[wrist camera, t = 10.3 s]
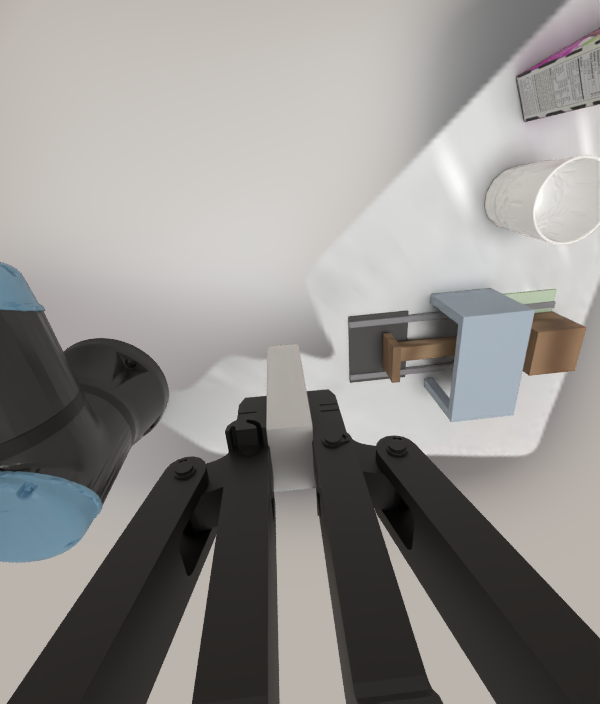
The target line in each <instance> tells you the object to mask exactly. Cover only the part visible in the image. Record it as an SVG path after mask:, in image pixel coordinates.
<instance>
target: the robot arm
mask: <svg viewBox="0 0 600 704" xmlns="http://www.w3.org/2000/svg"><path fill="white" fill-rule="evenodd" d="M44 311H45V309H44V307H43V306H42V305H40V304H39V303H38V301H37V300H36V298H35V296H34V295H33V293H32V291H31V289H30V287H29V286H28V284H27V282H26V280H25V279H24V277H23V275H22V274H21V273H20V272H19V271H18V270H17V269H15V268H14V267H12V266H10V265H8V264H5V263H2V262H0V561H2V562H31V561H39V560H44V559H48V558H51V557H54V556H57V555H59V554H61V553H64V552H66V551H67V550H69V549H70V548H72V547H73V546H74V545H76V544H77V543H78V542H79V541H80V540H81V538H82V537H83V536H84V535H85V533H86V531H87V530H88V528H89V526H90V525H91V523H92V521H93V520H94V518H96V516H97V515H98V514H99V513H100V512H101V509H102V505H103V503H104V501H105V499H106V497H107V495H108V493H109V491H110V489H111V487H112V485H113V483H114V481H115V479H116V477H117V475H118V473H119V471H120V469H121V467H122V465H123V463H124V460H125V459H126V457H127V454H128V452H129V450H130V448H131V447H132V445H134V444H135V443H136V442H137V441H139V440H140V439H141V438H142V437H143V436H144V435H146V434H147V433H149V432H150V431H151V430H152V429H153V428H154V427H155V426H156V425H157V424H158V422H159V421H160V419H161V417H162V415H163V413H164V411H165V408H166V406H167V403H168V397H169V391H168V385H167V381H166V378H165V376H164V374H163V372H162V370H161V369H160V367H159V366H158V365H157V363H156V362H155V361H154V360H153V359H152V358H150V356H149V355H147V354H146V353H145V352H143V351H142V350H140V349H138V348H136V347H135V346H133V345H131V344H128V343H125V342H122V341H118V340H114V339H106V338H96V339H88V340H84V341H81V342H78V343H76V344H74V345H72V346H70V347H69V348H67V349H66V350H65V351H64V352H63V350H62V348H61V346H60V345H59V342H58V340H57V338H56V336H55V334H54V332H53V330H52V328H51V326H50V324H49V322H48V320H47V318H46V316H45V314H44ZM267 349H268V350H267V351H268V352H267V396H261V397H250V398H245V399H244V400H243V401H242V402H241V404H240V405H239V410H238V417H237V420H236V421H234V422H232V423H231V424H230V425H228V426H227V428H226V430H225V434H226V439H227V445H228V450H229V453H228V454H227V455H226V456H224V457H222V458H221V459H218V460H216V461H213V462H210V463H207V464H205V462H204V461H203V460H202V459H201V458H198V457H185V458H182V459H179V460H177V461H175V462H173V463H172V464H170V465H169V467H167V469H166V470H165V471H164V473H163V474H162V476H161V477H160V479H159V480H158V481H157V483H156V484H155V486H154V487H153V489H152V490H151V492H150V493H149V495H148V496H147V498H146V499H145V501H144V502H143V504H142V505H141V507H140V508H139V509H138V511H137V512H136V514H135V516H134V517H133V518H132V520H131V521H130V523H129V524H128V526H127V528H126V529H125V530H124V532H123V533H122V535H121V536H120V537H119V539H118V540H117V542H116V543H115V545H114V547H113V548H112V549H111V551H110V552H109V554H108V555H107V557H106V558H105V560H104V561H103V563H102V564H101V566H100V567H99V568H98V570H97V571H96V573H95V574H94V576H93V577H92V579H91V580H90V582H89V583H88V585H87V586H86V588H85V589H84V591H83V592H82V594H81V595H80V596H79V598H78V599H77V601H76V602H75V604H74V605H73V607H72V608H71V610H70V611H69V613H68V614H67V616H66V617H65V619H64V620H63V622H62V623H61V624H60V626H59V627H58V629H57V630H56V632H55V633H54V635H53V636H52V638H51V639H50V641H49V642H48V644H47V645H46V647H45V648H44V650H43V651H42V653H41V654H40V655H39V657H38V658H37V660H36V661H35V663H34V664H33V666H32V667H31V669H30V670H29V672H28V673H27V675H26V676H25V678H24V679H23V681H22V682H21V683H20V685H19V686H18V688H17V689H16V691H15V692H14V694H13V695H12V697H11V698H10V700H9V701H8V703H7V704H146V702H147V700H148V698H149V695H150V693H151V690H152V688H153V686H154V683H155V681H156V678H157V676H158V674H159V671H160V669H161V666H162V664H163V661H164V659H165V657H166V654H167V652H168V649H169V647H170V645H171V642H172V640H173V637H174V635H175V633H176V630H177V628H178V626H179V623H180V621H181V618H182V616H183V614H184V611H185V609H186V606H187V604H188V602H189V599H190V597H191V594H192V592H193V589H194V587H195V585H196V582H197V580H198V577H199V575H200V573H201V570H202V568H203V565H204V563H205V561H206V558H207V556H208V553H209V551H210V549H211V546H212V544H213V541H214V539H215V537H216V542H215V549H214V556H213V563H212V570H211V576H210V583H209V591H208V597H207V604H206V611H205V618H204V624H203V631H202V638H201V645H200V652H199V658H198V665H197V672H196V679H195V686H194V693H193V700H192V704H279V659H278V615H277V564H276V522H275V521H276V520H275V519H276V518H275V499H274V492H280V491H288V490H299V489H309V488H316V492H317V510H318V515H319V518H320V525H321V532H322V539H323V546H324V553H325V559H326V567H327V573H328V581H329V588H330V595H331V601H332V608H333V615H334V622H335V629H336V636H337V643H338V649H339V657H340V664H341V671H342V678H343V685H344V692H345V699H346V704H443V702H442V701H441V698H440V697H439V695H438V694H437V693H436V692H435V691H434V690H433V689H432V687H431V685H430V683H429V681H428V678H427V675H426V672H425V669H424V666H423V662H422V659H421V656H420V653H419V650H418V647H417V643H416V641H415V637H414V634H413V631H412V627H411V624H410V621H409V618H408V615H407V611H406V608H405V605H404V602H403V599H402V596H401V592H400V589H399V586H398V583H397V580H396V577H395V573H394V570H393V567H392V564H391V561H390V558H389V554H388V551H387V548H386V545H385V541H384V538H383V536H382V532H381V529H380V526H379V523H378V519H377V516H376V513H377V515H378V517H379V518H380V519H381V521H382V523H383V524H384V526H385V528H386V529H387V531H388V532H389V534H390V536H391V537H392V539H393V540H394V542H395V544H396V545H397V546H398V548H399V550H400V551H401V553H402V555H403V556H404V558H405V559H406V561H407V563H408V564H409V566H410V567H411V569H412V570H413V572H414V574H415V575H416V577H417V578H418V580H419V582H420V583H421V585H422V586H423V588H424V589H425V591H426V593H427V594H428V596H429V597H430V599H431V600H432V602H433V604H434V605H435V607H436V608H437V610H438V612H439V613H440V615H441V616H442V618H443V620H444V621H445V623H446V624H447V626H448V628H449V629H450V631H451V632H452V634H453V635H454V637H455V639H456V640H457V642H458V643H459V645H460V647H461V648H462V650H463V651H464V653H465V654H466V656H467V658H468V659H469V661H470V662H471V664H472V665H473V667H474V669H475V670H476V672H477V673H478V675H479V677H480V678H481V680H482V681H483V683H484V684H485V686H486V688H487V689H488V691H489V692H490V694H491V696H492V697H493V699H494V700H495V702H496V704H600V638H599V637H598V636H597V635H596V634H595V633H594V632H593V631H592V630H591V629H590V627H589V626H588V625H587V624H586V623H585V622H584V621H583V620H582V619H581V618H580V617H579V616H578V615H577V614H576V613H575V612H574V611H573V610H572V609H571V608H570V606H569V605H568V604H567V603H566V602H565V601H564V600H563V599H562V598H561V597H560V596H559V595H558V594H557V593H556V592H555V591H554V590H553V589H552V587H550V585H549V584H548V583H547V582H546V581H545V580H544V579H543V578H542V577H541V576H540V575H539V574H538V573H537V572H536V571H535V570H534V569H533V568H532V566H531V565H529V563H528V562H527V561H526V560H525V559H524V558H523V557H522V556H521V555H520V554H519V553H518V552H517V551H516V550H515V549H514V548H513V547H512V545H510V543H509V542H508V541H507V540H506V539H505V538H504V537H503V536H502V535H501V534H500V533H499V532H498V531H497V530H496V529H495V528H494V526H493V525H492V524H491V523H490V522H489V521H488V520H487V519H486V518H485V517H484V516H483V515H482V514H481V513H480V512H479V511H478V510H477V509H476V508H475V506H473V504H472V503H471V502H470V501H469V500H468V499H467V498H466V497H465V496H464V495H463V494H462V493H461V492H460V491H459V490H458V489H457V488H456V487H455V486H454V485H453V483H452V482H451V481H450V480H449V479H448V478H447V477H446V476H445V475H444V474H443V473H442V472H441V471H440V470H439V469H438V468H437V467H436V465H434V463H432V462H431V460H430V459H429V458H428V457H427V456H426V455H425V454H424V453H423V452H422V451H421V450H420V449H419V448H418V447H417V445H416V444H415V443H413V442H412V441H411V440H409V439H407V438H404V437H401V436H387V437H384V438H382V439H380V440H379V441H378V443H377V446H372V445H366V444H361V443H358V442H356V441H354V440H353V439H352V438H351V436H350V435H349V434H348V433H347V432H346V429H345V426H344V423H343V419H342V416H341V413H340V410H339V406H338V403H337V400H336V396H335V395H334V394H333V393H332V392H331V391H330V390H329V389H327V390H317V391H306V386H305V380H304V374H303V369H302V363H301V357H300V351H299V346H298V344H291V345H280V346H268V347H267ZM374 508H375V510H374ZM375 511H376V513H375ZM216 534H217V535H216Z"/></svg>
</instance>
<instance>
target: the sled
mask: <svg viewBox="0 0 600 704" xmlns="http://www.w3.org/2000/svg"><path fill="white" fill-rule="evenodd" d="M585 331H586V327H584V326H582V325H580V324H578V323H576V322H574V321H572V320H569V319H567V318H565V317H563V316H561V315H559V314H557V313H554V312H542V313H534V317H533V322H532V327H531V332H530V336H529V341H528V346H527V351H526V356H525V361H524V366H523V370H522V371H524V372H525V373H526V374H528V375H529V376H531V375H540V374H549V373H558V372H568V371H575V367H576V363H577V360H578V356H579V353H580V349H581V345H582V342H583V338H584V334H585ZM456 340H457V336H454V337H444V338H434V339H425V340H415V341H405V342H397V340H396V339H395V338H394V337H393V335H392V334H391V333H384V334H383V365H382V367H383V368H384V370H385V372H386V373H387V375H388V377H389V378H390V380H391V382H392V383H394V382H400V368H401V361H409V360H419V359H428V358H438V357H447V356H455V349H456Z"/></svg>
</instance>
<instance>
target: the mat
mask: <svg viewBox="0 0 600 704" xmlns="http://www.w3.org/2000/svg"><path fill="white" fill-rule="evenodd" d="M555 294H556V289H550V290H540V291H530V292H520V293H510V294H503V295H505V296H507V297H509V298H512V299H514V300H516V301H518V302H520V303H522V304H530V303H540V302H550V301H554V299H555ZM534 310H535V312H534V313H542V312H552V308H544V309H534Z"/></svg>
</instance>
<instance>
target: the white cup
mask: <svg viewBox="0 0 600 704" xmlns="http://www.w3.org/2000/svg"><path fill="white" fill-rule="evenodd" d="M485 209H486V212H487V215H488V218H489V219H490V220H491V221H492V222H493V223H494V224H495V225H497V226H500V227H503V228H507V229H509V230H511V231H513V232H516V233H519V234H522V235H525V236H528V237H532V238H535V239H539V240H542V241H545V242H549V243H552V244H556V245H566V244H571V243H574V242H577V241H579V240H581V239H583V238H585V237H586V236H588V235H589V234H591V233H592V232H593V231H594V230H595V229H596V228H597V227H598V226H599V225H600V158H599V157H596V156H592V155H583V156H576V157H569V158H562V159H554V160H547V161H541V162H536V163H530V164H526V165H520V166H516V167H513V168H510V169H507V170H505V171H503V172H502V173H501V174H500V175H499V176H498V177H497V178H495V179H494V180H493V182H492V184H491V186H490V188H489V190H488V191H487V194H486V201H485Z"/></svg>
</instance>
